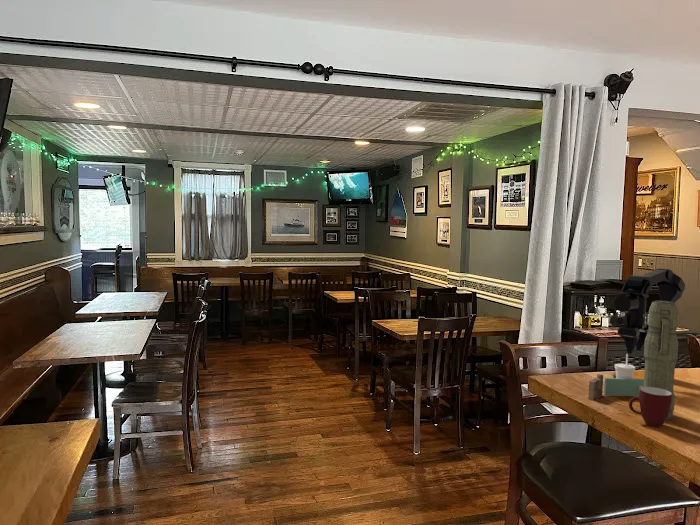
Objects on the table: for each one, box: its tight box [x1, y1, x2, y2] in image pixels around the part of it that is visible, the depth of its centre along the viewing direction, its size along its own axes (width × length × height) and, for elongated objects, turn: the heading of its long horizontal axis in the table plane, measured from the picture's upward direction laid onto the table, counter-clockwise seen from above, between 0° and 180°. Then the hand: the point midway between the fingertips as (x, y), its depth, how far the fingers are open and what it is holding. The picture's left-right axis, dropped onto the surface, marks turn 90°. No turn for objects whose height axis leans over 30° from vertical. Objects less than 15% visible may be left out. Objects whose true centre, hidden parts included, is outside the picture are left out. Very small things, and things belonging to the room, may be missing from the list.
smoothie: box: [614, 353, 636, 379], centre depth 175 cm, size 6×6×14 cm
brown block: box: [588, 373, 616, 401], centre depth 176 cm, size 24×2×7 cm, turn 133°
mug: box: [628, 387, 672, 428], centre depth 147 cm, size 11×8×10 cm
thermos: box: [643, 299, 679, 420], centre depth 154 cm, size 9×12×35 cm
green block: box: [603, 377, 644, 397], centre depth 171 cm, size 13×2×6 cm, turn 85°
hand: (634, 352), depth 185 cm, fingers open, 9 cm apart
